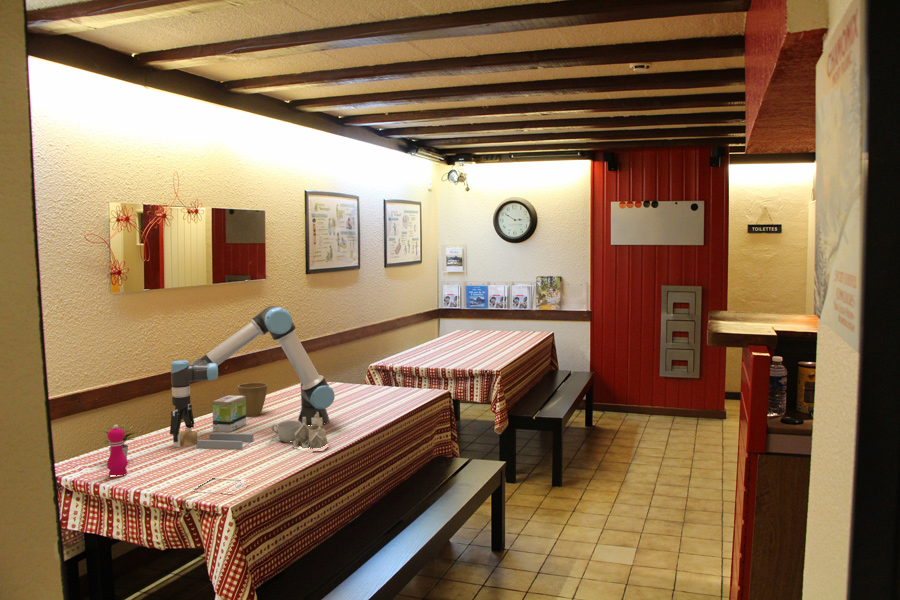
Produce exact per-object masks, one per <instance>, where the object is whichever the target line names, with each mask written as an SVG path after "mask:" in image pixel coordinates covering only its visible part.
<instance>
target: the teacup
mask: <svg viewBox="0 0 900 600" xmlns="http://www.w3.org/2000/svg"><path fill="white" fill-rule="evenodd" d="M301 424H302V423H301V422H299V421H298V420H285V421H281V422H279V423H273V424H272V425H271V427H270V428H271V431H272V432H273V433H274V434H275V435H277V437H278V439H279V440H280V441H281V442H283V441H284V443H291V442H290V441H295V432H296V431H297V430H298V428H300V426H301ZM275 427H276V429H277V431H276V429H275Z"/></svg>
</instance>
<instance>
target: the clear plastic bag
mask: <svg viewBox="0 0 900 600" xmlns="http://www.w3.org/2000/svg"><path fill="white" fill-rule="evenodd" d="M212 478H215V479H214V480H216V479H228V480H227V481H231V480H241V481H237V483H235V484H234V485H232V486H231V487H229V488H228V489H229V490H228V489H226V490H225V491H227V490H228V491H232V490H237V489H239V488H240V487H242V486H243V485H245V484H246V482H244V481H246V480H248V481H249V480H250V479H245V478H243V479H241V478H230V477H229V478H227V477H215V476H213V477H211V478H209V479H207V480H206V481H204V482H203V485H205V484H206V483H207V481H208V482H209V480H210V481H211V480H213V479H212ZM240 482H241V483H240ZM204 483H205V484H204ZM200 485H201V486H202V483H201V484H200ZM200 485H197V486H196V487H195V488H196V489H195V490H193V491H198V492H201V491H202V490H197V489H198V488H199V487H198V486H200ZM235 485H236V486H235ZM201 486H200V487H201Z"/></svg>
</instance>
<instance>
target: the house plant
mask: <svg viewBox="0 0 900 600" xmlns="http://www.w3.org/2000/svg"><path fill="white" fill-rule="evenodd" d="M116 425H118V426H119V422H117V423H116ZM126 425H127V423H122V424H121V425H120V426H119V428H120V429H122V430H123V431H124V433H125V436H124V438H123V440H124V441H123V443H124V444H123V446H122V448H123V452H124V455H125V456H126V458H127V459H128V451H129V444H126V442H128V441H134V439H137V438H136V437H135V436H132V435H134V434H135V432H129V431H130V430H131V429H132V428H133V427H134V425H132V426H130V427H128V428H127V429H126V430H124V428H125V427H126ZM107 428H109V429H110V430H111V429H114V428H113V426H110V427H107ZM107 428H105V429H104V430H103V429H102V430H100V432H102V431H103V432H105V433H106V434H107V435H108V432H109V431H110V430H108V429H107ZM128 432H129V433H128ZM138 433H139V432H136V434H138ZM106 438H107V440H104V441H103V444H104V445H107V444H110V443H109V442H110V440H108V437H107V436H106ZM109 454H111V446H109Z"/></svg>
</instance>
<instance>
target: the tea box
mask: <svg viewBox="0 0 900 600" xmlns="http://www.w3.org/2000/svg"><path fill="white" fill-rule="evenodd" d="M246 424H247V416H246V396H240V395H235V394H234V395H229V394H228V395H226V396H222V397H220V398H218V399H215V400H213V401H212V431H214V432H223V433H232V432H233V431H234V430H236V429H239V428H241V427H242V426H243V427H244V426H246Z"/></svg>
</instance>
